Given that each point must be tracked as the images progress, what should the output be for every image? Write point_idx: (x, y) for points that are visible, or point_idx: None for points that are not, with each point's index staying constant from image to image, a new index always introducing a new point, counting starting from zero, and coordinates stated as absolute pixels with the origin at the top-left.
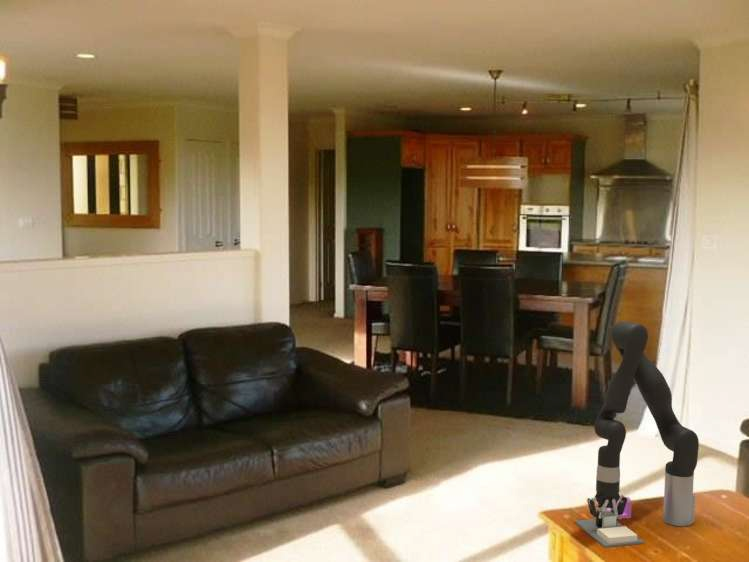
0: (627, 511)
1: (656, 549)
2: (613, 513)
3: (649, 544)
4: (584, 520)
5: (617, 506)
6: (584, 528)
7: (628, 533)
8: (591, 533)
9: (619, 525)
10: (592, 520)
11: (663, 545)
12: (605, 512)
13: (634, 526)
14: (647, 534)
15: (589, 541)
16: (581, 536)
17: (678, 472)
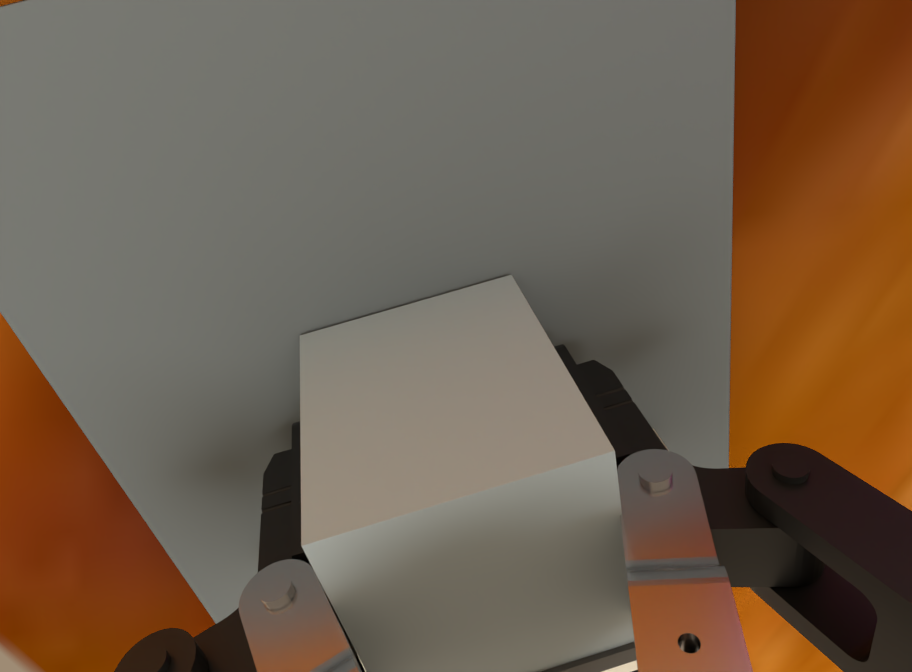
0: None
1: (751, 666)
2: (627, 585)
3: (752, 603)
4: (80, 25)
5: (839, 553)
6: (79, 411)
7: (622, 666)
8: (186, 545)
9: (687, 243)
10: (268, 25)
11: None
12: (480, 574)
13: (900, 183)
14: (884, 409)
15: None
16: (44, 571)
17: None
